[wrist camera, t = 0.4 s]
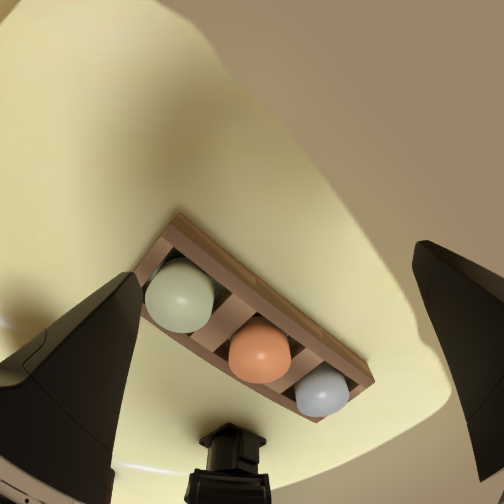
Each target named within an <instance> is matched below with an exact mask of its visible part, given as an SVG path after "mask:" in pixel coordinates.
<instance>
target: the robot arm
mask: <svg viewBox="0 0 504 504" xmlns="http://www.w3.org/2000/svg"><path fill="white" fill-rule="evenodd" d="M412 269H413V273H414V276H415V278H416V281H417V284H418V287H419V290H420V293H421V296H422V299H423V302H424V305H425V308H426V311H427V313H428V315H429V318H430V320H431V322H432V325H433V327H434V329H435V332H436V334H437V337H438V339H439V342H440V345H441V347H442V350H443V352H444V355H445V357H446V360H447V363H448V366H449V369H450V371H451V374H452V377H453V380H454V383H455V386H456V389H457V392H458V396H459V399H460V402H461V405H462V408H463V412H464V415H465V419H466V422H467V427H468V431H469V435H470V439H471V443H472V447H473V451H474V456H475V460H476V465H477V471H478V476H479V480H480V482H483V481H485V480H487V479H488V478H491V477H492V476H494V475H496V474H498V473H500V472H501V471H503V470H504V278H503V277H501V276H499V275H497V274H495V273H493V272H492V271H490V270H488V269H486V268H484V267H482V266H480V265H478V264H476V263H474V262H472V261H470V260H468V259H466V258H464V257H462V256H460V255H458V254H456V253H454V252H452V251H450V250H448V249H446V248H444V247H442V246H440V245H438V244H435V243H433V242H431V241H429V240H423V241H418V242H417V243H416V244H415V249H414V255H413V261H412ZM142 303H143V291H142V289H141V286H140V284H139V281H138V279H137V277H136V274H135V273H134V272H132V271H130V272H122V273H120V274H119V275H117V276H116V277H115V278H113V279H112V280H110V281H109V282H108V283H106V284H105V285H103V286H102V287H101V288H99V289H98V290H97V291H95V292H94V293H92V294H91V295H90V296H88V297H87V298H86V299H84V300H83V301H82V302H80V303H79V304H78V305H76V306H75V307H74V308H72V309H71V310H70V311H68V312H67V313H66V314H64V315H63V316H62V317H60V318H59V319H58V320H57V321H55V322H54V323H53V324H51V325H50V326H49V327H48V329H45V330H44V331H42V332H41V333H40V334H39V335H37V336H36V337H35V338H33V339H32V340H31V341H29V342H28V343H27V344H25V345H24V346H23V347H21V348H20V349H19V350H17V351H16V352H14V353H13V354H12V355H10V356H9V357H7V358H6V359H5V360H3V361H2V362H1V363H0V504H74V503H75V502H77V503H80V504H106V497H107V489H108V481H109V474H110V467H111V460H112V452H113V447H114V441H115V435H116V429H117V424H118V419H119V414H120V409H121V404H122V399H123V394H124V390H125V385H126V381H127V376H128V372H129V368H130V363H131V359H132V355H133V351H134V347H135V343H136V339H137V334H138V328H139V322H140V315H141V309H142ZM199 444H200V445H202V446H205V447H207V448H208V457H207V466H206V470H200V469H196V468H195V471H194V473H191V474H190V476H189V483H188V487H187V490H186V494H185V497H184V501H185V502H186V503H187V504H271V491H270V484H269V477H268V474H258V464H259V448H260V447H262V446H264V445H265V444H266V440H265V439H263V438H261V437H258V436H256V435H254V434H252V433H250V432H247V431H245V430H243V429H241V428H239V427H237V426H235V425H233V424H230V423H227V424H225V425H224V426H222V427H220V428H219V429H217V430H216V431H214V432H212V433H211V434H209V435H207V436H206V437H204V438H202V439H201V440H200V441H199ZM498 504H504V491H503V494H502V496H501V498H500V500H499V502H498Z"/></svg>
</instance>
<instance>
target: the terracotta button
mask: <svg viewBox="0 0 504 504" xmlns="http://www.w3.org/2000/svg"><path fill="white" fill-rule="evenodd" d="M228 361H229V367H230V369H231V371H232V372H233V373H234V375H236V376H237V377H238V378H240V379H241V380H244V381H246V382H250V383H257V384H261V383H268V382H272V381H275V380H277V379H279V378H280V377H282V376H283V375H284V374H285V373H286V372H287V371H288V369H289V367H290V364H291V355H290V349H289V343H288V337H287V333H286V332H284V331H283V330H281V329H280V328H279V327H277V326H276V325H275V324H273V323H272V322H271V321H269V320H268V319H266V318H265V317H252V318H250V319H248V320H247V321H246V322H245V323H244V324H243V325H242V326H241V327H240V328H239V329H238V330H237V331H236V332H234V333H233V334H232V335H231V339H230V350H229V360H228Z"/></svg>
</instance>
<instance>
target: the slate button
mask: <svg viewBox="0 0 504 504" xmlns="http://www.w3.org/2000/svg"><path fill="white" fill-rule="evenodd" d="M294 389H295V396H296V403H297V408H298V410H299V411H300V412H301V413H302V414H304V415H306V416H310V417H323V416H327V415H330V414H333V413H335V412H337V411H339V410H340V409H341V408H343V407H344V406H345V405H346V403H347V402H348V400H349V396H350V395H349V390H348V387H347V384H346V381H345V379H344V376H343V373H342V372H340V371H339V370H338V369H336V368H335V367H333V366H332V365H330V364H329V363H327V362H326V361H323V362H322V363H320V364H319V365H318V366H317V367H315V368H314V369H313V370H311V371H310V372H309V373H308V374H306V375H305V376H304V377H302V378H301V379H300V380H298V381H297V382H296V383H294Z"/></svg>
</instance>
